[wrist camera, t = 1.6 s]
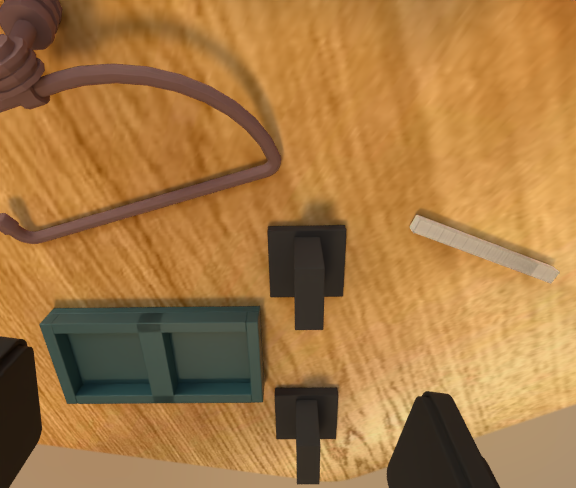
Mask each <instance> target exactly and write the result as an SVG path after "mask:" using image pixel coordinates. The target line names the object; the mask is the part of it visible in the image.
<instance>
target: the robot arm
mask: <svg viewBox="0 0 576 488" xmlns="http://www.w3.org/2000/svg"><path fill="white" fill-rule="evenodd" d="M573 1H576V0H573ZM41 431H42V423H41V414H40V405H39V396H38V387H37V378H36V369H35V360H34V351H33V348H32V347H28V346H27V342H26V341H25V340H23V339H16V338H8V337H0V488H9V487H10V485H11V484H12V482H13V480H14V479H15V477H16V476H17V474H18V473H19V471H20V470H21V468H22V466H23V465H24V463H25V462H26V460H27V459H28V457H29V456H30V454H31V452H32V451H33V449H34V448H35V446H36V445H37V443H38V441H39V438H40V435H41ZM387 481H388V486H389V488H500V487H499V485H498V483H497V481H496V479H495V477H494V475H493V473H492V471H491V469H490V467H489V465H488V464H487V462H486V460H485V459H484V458H483V457H482V456H481V454H480V452H479V450H478V448H477V446H476V444H475V442H474V440H473V438H472V436H471V434H470V432H469V430H468V428H467V426H466V424H465V422H464V420H463V418H462V416H461V414H460V412H459V410H458V408H457V406H456V404H455V402H454V400H453V398H452V397H451V396H450V395H449V394H444V393H437V392H429V391H426V392H424V393H423V395H422V397H421V396H418V397H417V398H416V399H415V401H414V404H413V406H412V409H411V411H410V414H409V416H408V418H407V421H406V423H405V426H404V428H403V430H402V433H401V435H400V438H399V440H398V443H397V445H396V447H395V450H394V452H393V455H392V457H391V459H390V462H389V464H388V467H387Z"/></svg>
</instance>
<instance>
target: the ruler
mask: <svg viewBox="0 0 576 488" xmlns="http://www.w3.org/2000/svg"><path fill="white" fill-rule="evenodd" d="M410 229H411V230H412V232H414V233H416V234H419V235H422V236H424V237H427V238H430V239H432V240H435V241H438V242H441V243H443V244H446V245H449V246H451V247H454V248H457V249H459V250H462V251H465V252H467V253H470V254H473V255H475V256H478V257H481V258H484V259H486V260H489V261H492V262H494V263H497V264H500V265H502V266H505V267H508V268H510V269H513V270H516V271H518V272H521V273H524V274H527V275H529V276H532V277H535V278H537V279H540V280H543V281H545V282H548V283H552V282H553V281H554V279H555V278H556V277H557V275H558V274H559V273H560V272H559V271H558V270H557V269H555V268H554V267H553V266H551V265H548V264H546V263H543V262H540V261H538V260H535V259H533V258H530V257H527V256H525V255H522V254H519V253H517V252H514V251H511V250H509V249H506V248H504V247H501V246H498V245H496V244H493V243H490V242H488V241H485V240H483V239H480V238H477V237H475V236H472V235H469V234H467V233H464V232H461V231H459V230H456V229H454V228H451V227H448V226H446V225H443V224H440V223H438V222H435V221H433V220H430V219H427V218H425V217H422V216H419V215H417V214H416V216H415V218H414V220H413V221H412V223H411V225H410Z"/></svg>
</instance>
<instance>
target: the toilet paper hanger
mask: <svg viewBox="0 0 576 488" xmlns="http://www.w3.org/2000/svg"><path fill="white" fill-rule="evenodd" d="M61 16H62V7H61V5H60V2H59V0H4V3H3V4H2V5H1V7H0V25H1V27H2V29H3V31H4V32H5V34H6V35H4V34H0V112H3V111H6V110H9V109H12V108H15V107H18V106H23V107H24V108H26V109H33V108H36V107H39V106H42V105H45V104H47V103H48V102H49V101H50V95H53V94H55V93H58V92H61V91H64V90H68V89H72V88H77V87H81V86H85V85H98V84H111V83H121V84H135V85H148V86H152V87H157V88H161V89H166V90H170V91H175V92H178V93H181V94H184V95H186V96H189V97H192V98H194V99H197V100H200V101H202V102H205V103H207V104H208V105H210V106H212V107H214V108H215V109H217V110H219V111H221V112H223V113H224V114H226V115H228V116H229V117H230V118H232V119H233V120H234V121H235V122H237V123H238V124H239V125H240V126H242V127H243V128H244V129H245V130H247V132H248V133H249V134H250V135H251V136H252V137H253V139H254V140H255V141H256V142H257V143H258V144H259V145H260V147H261V149H262V151H263V152H264V154H265V156H266V158H267V160H268V161H267V163H265V164H263V165H260V166H256V167H253V168H250V169H246V170H243V171H240V172H236V173H233V174H229V175H226V176H223V177H219V178H216V179H212V180H209V181H206V182H202V183H199V184H196V185H192V186H189V187H185V188H182V189H179V190H175V191H172V192H169V193H165V194H162V195H158V196H155V197H152V198H148V199H145V200H142V201H138V202H135V203H131V204H128V205H125V206H121V207H118V208H115V209H111V210H108V211H104V212H101V213H98V214H94V215H91V216H87V217H84V218H81V219H77V220H74V221H71V222H67V223H64V224H60V225H57V226H54V227H50V228H47V229H44V230H40V231H36V232H33V231H28V230H25V229H24V228H22V227H21V226H19V223H18V222H17V221H16V220H14V219H13V218H11V217H10V216H9V215H7V214H6V213H0V231H1V232H2V233H4V234H5V235H10V236H12V237H14V238H15V239H17V240H19V241H21V242H24V243H30V244H38V243H42V242H46V241H49V240H53V239H56V238H60V237H63V236H66V235H70V234H73V233H77V232H80V231H84V230H87V229H90V228H94V227H97V226H101V225H104V224H108V223H111V222H114V221H118V220H121V219H125V218H128V217H132V216H135V215H139V214H142V213H145V212H149V211H152V210H156V209H159V208H163V207H166V206H169V205H173V204H176V203H180V202H183V201H187V200H190V199H193V198H197V197H200V196H204V195H207V194H211V193H214V192H217V191H221V190H224V189H228V188H231V187H235V186H238V185H241V184H245V183H248V182H252V181H255V180H259V179H262V178H266V177H268V176H271V175H273V174H274V173H276V172H277V171H278V169H279V167H280V165H281V156H280V154H279V152H278V150H277V148H276V146H275V144H274V142H273V140H272V138H271V136H270V135H269V134H268V133H267V131H266V130H265V129H264V128H263V127H262V125H261V124H260V123H259V122H258V120H257V119H256V118H255V117H254V116H253V115H251V114H250V113H249V112H248V111H247V110H245V109H244V108H243V107H242V106H241V105H240V104H238V103H237V102H236V101H234V100H233V99H231V98H229V97H228V96H226V95H224V94H223V93H221V92H219V91H218V90H216V89H214V88H213V87H211V86H208V85H206V84H203V83H201V82H198V81H196V80H193V79H191V78H188V77H186V76H183V75H181V74H177V73H173V72H168V71H164V70H160V69H156V68H152V67H147V66H135V65H123V64H101V65H87V66H77V67H73V68H69V69H65V70H61V71H57V72H54V73H51V74H48V75H45V76H42V77H41V75H42V74H43V72H44V71H45V69H44V63H43V62H42V61H41V60H40V59H38V58H36V54H35V52H34V51H33V50H42V49H45V48H47V47H48V46H49V45H50V44H51V43H53V41H54V38H55V34H56V32H57V30H58V25H59V24H60V21H61Z"/></svg>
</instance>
